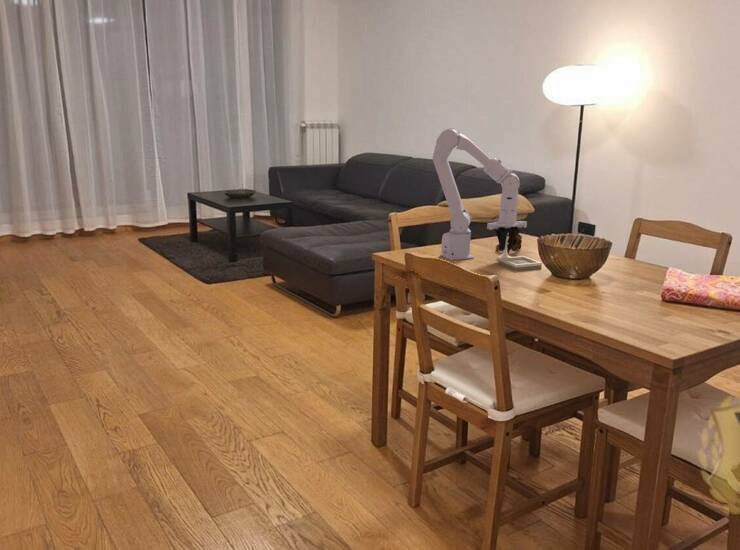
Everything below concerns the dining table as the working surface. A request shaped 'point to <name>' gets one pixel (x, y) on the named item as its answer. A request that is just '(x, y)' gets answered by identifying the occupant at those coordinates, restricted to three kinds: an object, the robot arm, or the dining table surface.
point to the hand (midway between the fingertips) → (505, 248)
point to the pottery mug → (515, 245)
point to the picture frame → (520, 263)
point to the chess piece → (505, 250)
